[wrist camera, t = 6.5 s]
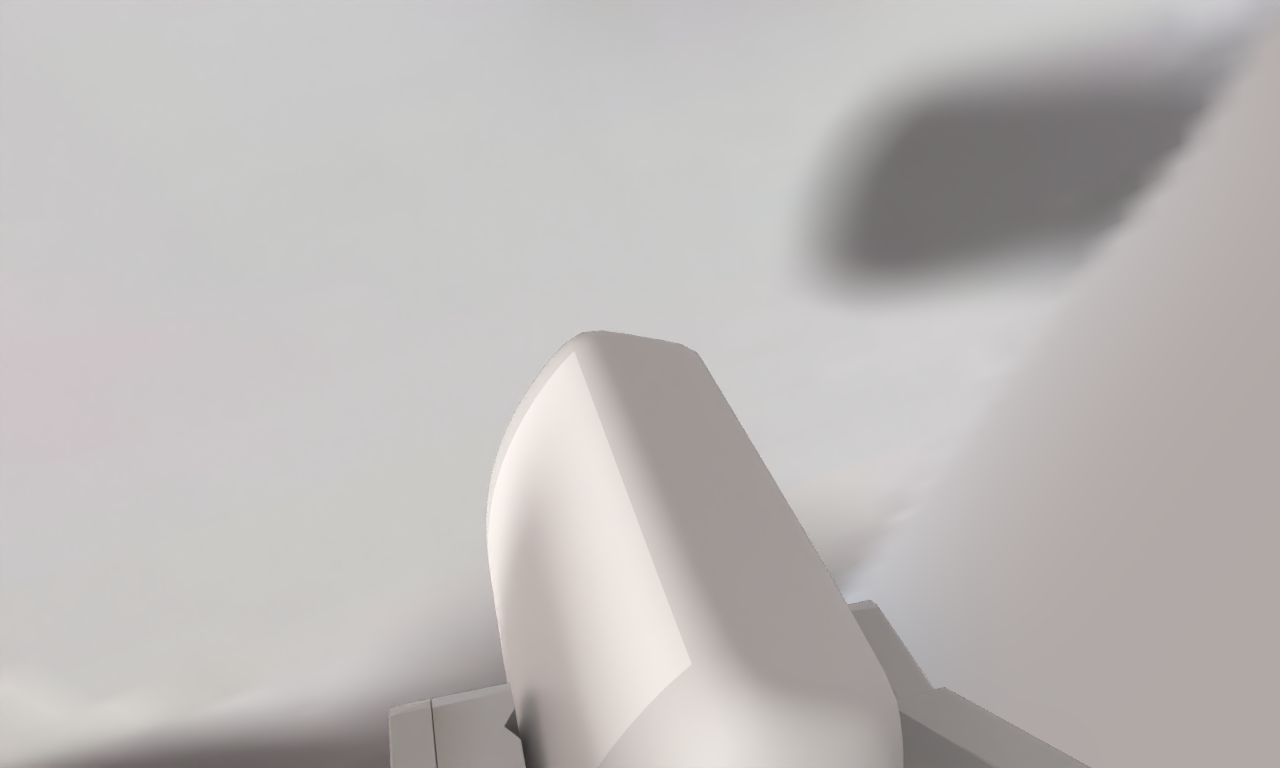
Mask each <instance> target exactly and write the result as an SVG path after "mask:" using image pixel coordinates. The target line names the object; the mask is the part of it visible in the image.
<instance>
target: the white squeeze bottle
mask: <svg viewBox="0 0 1280 768" xmlns="http://www.w3.org/2000/svg"><path fill="white" fill-rule="evenodd" d="M486 534H487V552H488V559H489V567H490V574H491V581H492V588H493V594H494V601H495V607H496V614H497V621H498V627H499V634H500V640H501V647H502V654H503V660H504V667H505V673H506V680H507V683H510V685H511V690H512V695H513V701H514V706H515V711H516V718H517V724H518V730H519V736H520V739H521V743H522V749H523V755H524V760H525V766H526V768H903V756H904V751H903V739H902V729H901V720H900V714H899V709H898V704H897V700H896V698H895V695H894V693H893V691H892V688H891V686H890V684H889V681H888V679H887V677H886V674H885V672H884V670H883V668H882V667H881V665H880V663H879V661H878V659H877V657H876V656H875V654H874V652H873V650H872V648H871V647H870V645H869V643H868V641H867V639H866V638H865V636H864V634H863V632H862V630H861V629H860V627H859V625H858V623H857V621H856V620H855V618H854V616H853V614H852V612H851V611H850V609H849V607H848V605H847V603H846V602H845V600H844V598H843V596H842V594H841V593H840V591H839V589H838V587H837V585H836V584H835V582H834V580H833V579H832V577H831V575H830V574H829V572H828V570H827V568H826V567H825V565H824V563H823V562H822V560H821V558H820V557H819V555H818V553H817V552H816V550H815V548H814V546H813V545H812V543H811V541H810V540H809V538H808V536H807V535H806V533H805V531H804V530H803V528H802V526H801V524H800V523H799V521H798V519H797V518H796V516H795V514H794V513H793V511H792V509H791V508H790V506H789V504H788V502H787V501H786V499H785V497H784V496H783V494H782V492H781V491H780V489H779V487H778V486H777V484H776V482H775V480H774V479H773V477H772V475H771V474H770V472H769V470H768V469H767V467H766V465H765V464H764V462H763V460H762V459H761V457H760V455H759V454H758V452H757V450H756V449H755V447H754V445H753V444H752V442H751V440H750V439H749V437H748V435H747V434H746V432H745V430H744V429H743V427H742V425H741V424H740V422H739V420H738V419H737V417H736V415H735V414H734V412H733V410H732V409H731V407H730V405H729V404H728V402H727V400H726V399H725V397H724V395H723V394H722V392H721V390H720V389H719V387H718V385H717V384H716V382H715V380H714V379H713V377H712V375H711V374H710V372H709V370H708V369H707V367H706V366H705V364H704V362H703V361H702V359H701V357H700V356H699V355H698V353H697V352H695V351H693V350H691V349H689V348H688V347H686V346H684V345H682V344H678V343H673V342H669V341H664V340H658V339H653V338H647V337H641V336H635V335H629V334H623V333H616V332H609V331H591V332H583V333H580V334H579V335H577V336H575V337H574V338H572V339H570V340H569V341H567V342H566V343H565V344H564V345H563V346H562V347H561V348H560V349H559V350H558V351H557V352H556V353H555V354H554V355H553V357H552V358H551V359H550V360H549V362H548V363H547V364H546V365H545V367H544V368H543V369H542V371H541V372H540V373H539V375H538V376H537V378H536V379H535V380H534V382H533V383H532V385H531V386H530V388H529V389H528V391H527V393H526V394H525V396H524V397H523V399H522V401H521V402H520V404H519V406H518V408H517V410H516V411H515V413H514V415H513V417H512V419H511V421H510V423H509V426H508V428H507V430H506V432H505V435H504V437H503V440H502V442H501V445H500V447H499V451H498V454H497V457H496V460H495V464H494V468H493V472H492V476H491V482H490V488H489V494H488V503H487V522H486Z"/></svg>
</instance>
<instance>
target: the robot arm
mask: <svg viewBox="0 0 1280 768" xmlns="http://www.w3.org/2000/svg"><path fill="white" fill-rule="evenodd" d="M848 607H849V609H850V611H851V612H852V614H853V616H854V618H855V620H856V621H857V623H858V625H859V627H860V629H861V630H862V632H863V634H864V636H865V638H866V639H867V641H868V643H869V645H870V647H871V648H872V650H873V652H874V654H875V656H876V657H877V659H878V661H879V663H880V665H881V667H882V668H883V670H884V672H885V674H886V677H887V679H888V681H889V684H890V686H891V688H892V691H893V693H894V695H895V698H896V700H897V704H898V709H899V714H900V720H901V729H902V739H903V751H904V756H903V768H1090V767H1088V766H1087V765H1085V764H1083V763H1081V762H1079V761H1078V760H1076V759H1074V758H1072V757H1070V756H1068V755H1067V754H1065V753H1063V752H1061V751H1059V750H1058V749H1056V748H1054V747H1052V746H1050V745H1049V744H1047V743H1045V742H1043V741H1041V740H1039V739H1038V738H1036V737H1034V736H1032V735H1030V734H1029V733H1027V732H1025V731H1023V730H1021V729H1019V728H1018V727H1016V726H1014V725H1012V724H1010V723H1009V722H1007V721H1005V720H1003V719H1001V718H999V717H998V716H996V715H994V714H992V713H991V712H989V711H987V710H985V709H983V708H981V707H980V706H978V705H976V704H974V703H972V702H971V701H968V700H967V699H965V698H963V697H961V696H960V695H958V694H956V693H954V692H952V691H951V690H949V689H947V688H945V687H944V688H939V689H934V688H933V686H932V685H931V683H930V682H929V681H928V679H927V677H926V676H925V675H924V673H923V672H922V670H921V669H920V667H919V666H918V664H917V663H916V662H915V660H914V658H913V657H912V655H911V654H910V652H909V651H908V650H907V648H906V647H905V645H904V644H903V642H902V641H901V639H900V638H899V636H898V635H897V633H896V632H895V630H894V629H893V628H892V626H891V625H890V623H889V622H888V620H887V619H886V617H885V616H884V614H883V613H882V612H881V610H880V608H879V607H878V606H877V604H875V603H874V602H872V601H871V600H867V601H862V602H858V603H854V604H849V605H848ZM388 723H389V746H390V768H526V766H525V760H524V755H523V749H522V743H521V739H520V736H519V730H518V724H517V718H516V711H515V706H514V701H513V695H512V690H511V685H510V683H506V684H501V685H496V686H491V687H486V688H481V689H476V690H471V691H466V692H461V693H456V694H451V695H446V696H441V697H436V698H432V699H428V700H423V701H418V702H414V703H409V704H404V705H399V706H394V707H390V713H389V719H388Z"/></svg>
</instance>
